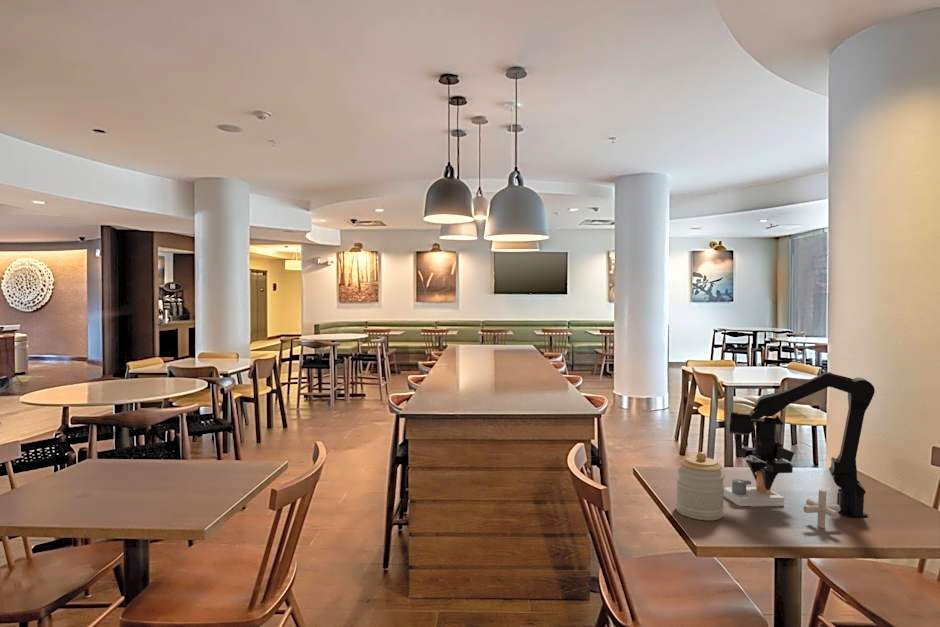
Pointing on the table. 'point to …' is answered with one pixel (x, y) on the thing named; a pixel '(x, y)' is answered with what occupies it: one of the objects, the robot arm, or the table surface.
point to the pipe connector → (821, 508)
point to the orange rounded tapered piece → (761, 483)
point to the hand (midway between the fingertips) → (763, 487)
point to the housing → (751, 495)
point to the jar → (700, 488)
